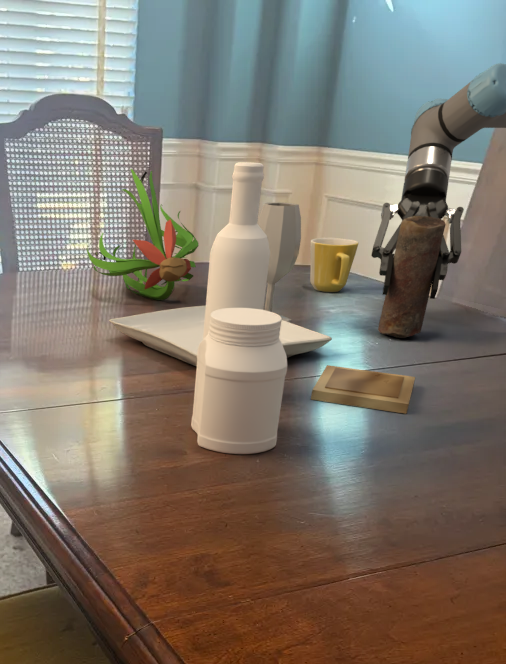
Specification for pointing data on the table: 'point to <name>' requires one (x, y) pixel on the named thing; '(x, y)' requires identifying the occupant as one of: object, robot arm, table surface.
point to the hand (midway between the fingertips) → (409, 292)
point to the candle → (411, 276)
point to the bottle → (239, 249)
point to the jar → (239, 382)
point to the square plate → (201, 333)
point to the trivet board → (364, 389)
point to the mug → (331, 263)
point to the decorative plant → (152, 250)
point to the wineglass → (280, 242)
